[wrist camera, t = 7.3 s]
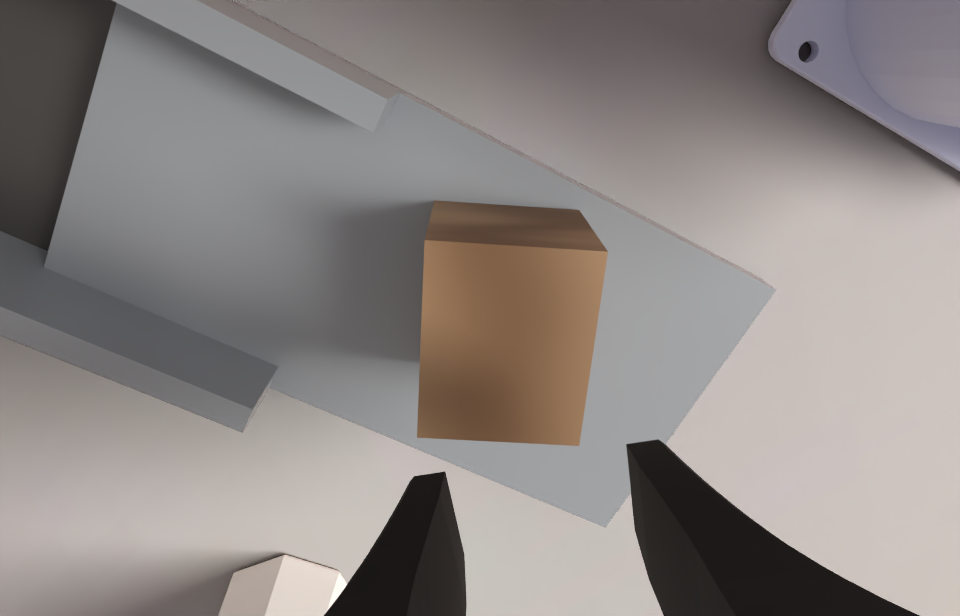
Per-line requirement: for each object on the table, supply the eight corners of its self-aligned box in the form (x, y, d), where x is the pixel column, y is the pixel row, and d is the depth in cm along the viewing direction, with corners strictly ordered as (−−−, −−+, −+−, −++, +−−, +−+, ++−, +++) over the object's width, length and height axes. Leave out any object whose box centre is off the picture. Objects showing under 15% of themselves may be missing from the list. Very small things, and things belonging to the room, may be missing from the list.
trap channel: (762, 278, 20) (819, 324, 16) (599, 508, 23) (621, 584, 20) (-155, -202, 15) (-329, -273, 12) (-201, 169, 18) (-349, 195, 15)
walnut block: (579, 209, 18) (607, 251, 14) (558, 371, 20) (579, 446, 16) (434, 200, 18) (424, 239, 14) (427, 363, 19) (416, 437, 16)
